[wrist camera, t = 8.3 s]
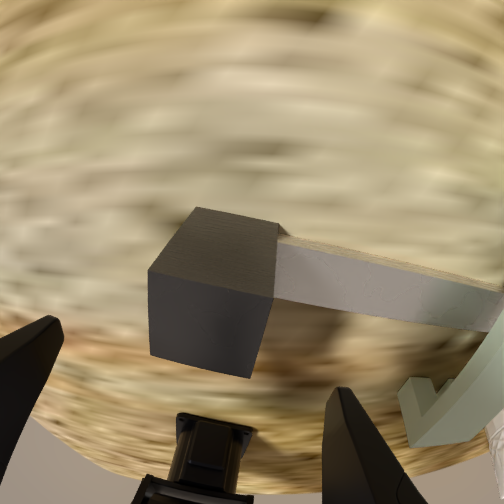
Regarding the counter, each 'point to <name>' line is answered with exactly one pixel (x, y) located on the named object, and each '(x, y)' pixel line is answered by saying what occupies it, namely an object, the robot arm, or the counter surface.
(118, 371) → the counter surface
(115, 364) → the counter surface
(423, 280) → the grey hammer
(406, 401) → the bracket
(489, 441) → the white cup
